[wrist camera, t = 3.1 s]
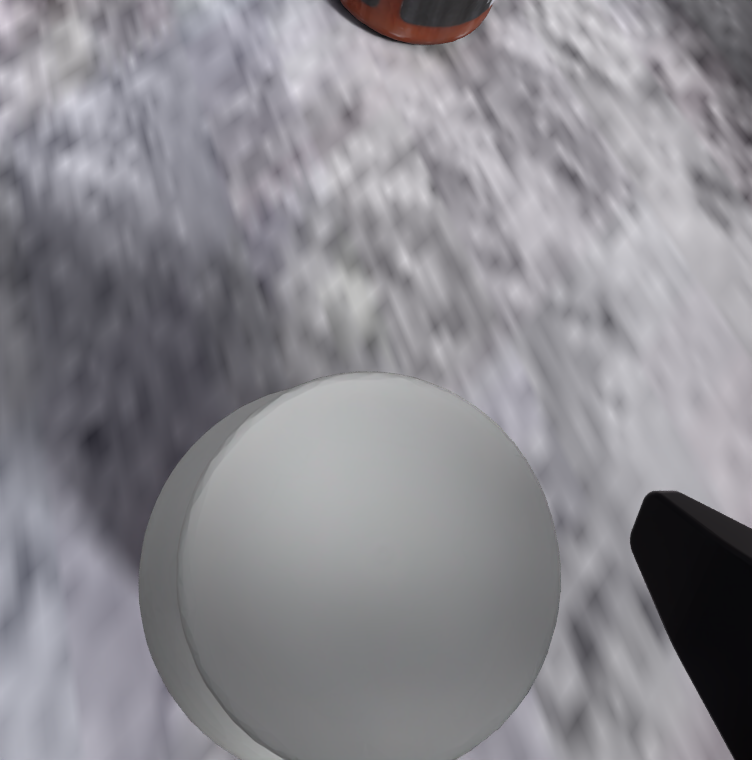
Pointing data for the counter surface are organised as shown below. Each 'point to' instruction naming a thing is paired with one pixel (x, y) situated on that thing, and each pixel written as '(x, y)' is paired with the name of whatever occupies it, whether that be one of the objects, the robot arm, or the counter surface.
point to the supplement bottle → (421, 18)
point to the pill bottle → (351, 574)
